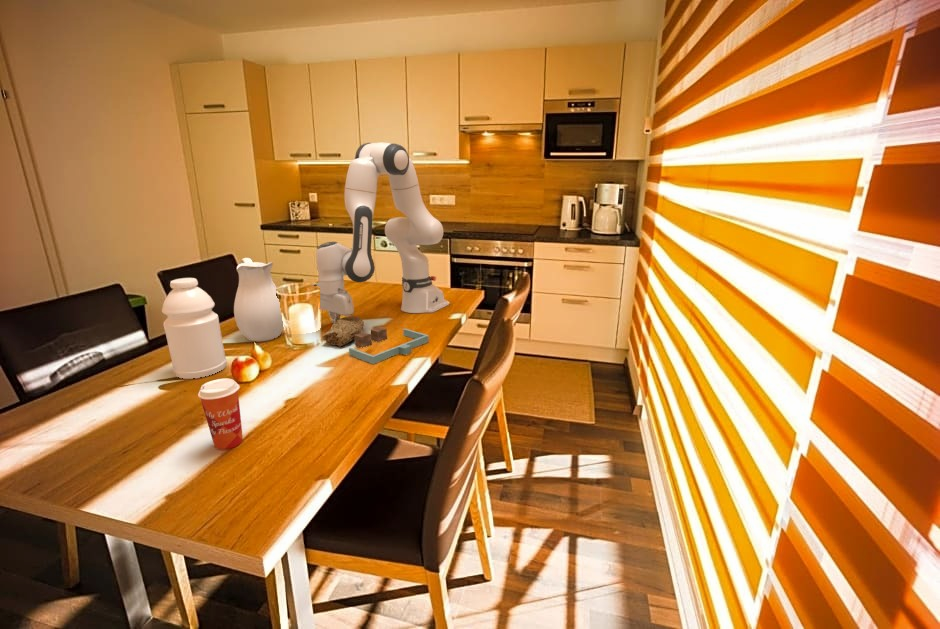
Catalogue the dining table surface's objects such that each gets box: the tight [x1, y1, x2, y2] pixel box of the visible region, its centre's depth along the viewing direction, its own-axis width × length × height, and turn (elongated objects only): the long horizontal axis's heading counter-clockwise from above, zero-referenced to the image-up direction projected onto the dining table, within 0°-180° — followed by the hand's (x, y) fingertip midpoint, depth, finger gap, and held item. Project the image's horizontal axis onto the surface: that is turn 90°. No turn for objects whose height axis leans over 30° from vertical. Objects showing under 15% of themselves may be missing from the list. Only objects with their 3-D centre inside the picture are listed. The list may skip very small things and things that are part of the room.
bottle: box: [161, 277, 227, 380], centre depth 135 cm, size 14×14×28 cm
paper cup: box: [198, 378, 244, 451], centre depth 99 cm, size 8×8×14 cm
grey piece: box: [348, 328, 430, 365], centre depth 153 cm, size 25×14×2 cm, turn 141°
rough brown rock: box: [321, 315, 365, 347], centre depth 164 cm, size 13×8×20 cm
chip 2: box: [370, 326, 388, 343], centre depth 162 cm, size 4×4×4 cm
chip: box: [353, 331, 373, 349], centre depth 157 cm, size 4×4×4 cm
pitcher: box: [233, 257, 284, 343], centre depth 166 cm, size 24×17×28 cm
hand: (335, 322), depth 172 cm, fingers closed
